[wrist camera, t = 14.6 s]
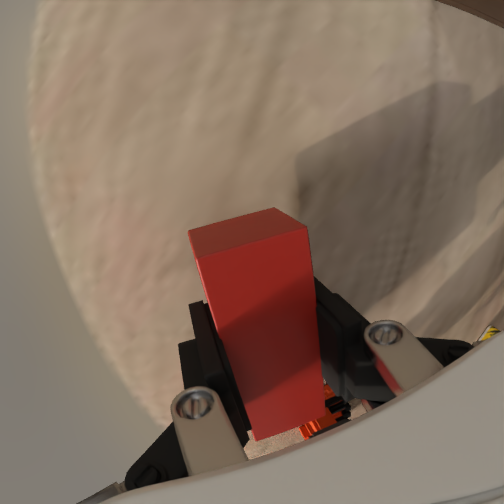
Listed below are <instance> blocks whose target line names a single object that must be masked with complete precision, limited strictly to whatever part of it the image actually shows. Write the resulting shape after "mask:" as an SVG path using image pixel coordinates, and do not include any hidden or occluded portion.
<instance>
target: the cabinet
mask: <svg viewBox="0 0 504 504" xmlns="http://www.w3.org/2000/svg"><path fill="white" fill-rule="evenodd" d="M436 1H439V2H442V3H444V4H447V5H450V6H453V7H456V8H458V9H461V10H463V11H466V12H468V13H471V14H473V15H476V16H478V17H480V18H482V19H485V20H487V21H489V22H491V23H493V24H495V25H498V26H500V27H502V28H504V0H436Z"/></svg>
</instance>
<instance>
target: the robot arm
mask: <svg viewBox="0 0 504 504" xmlns="http://www.w3.org/2000/svg"><path fill="white" fill-rule="evenodd" d="M314 285H315V294H316V303H317V307H316V316H317V326H318V336H319V347H320V358H321V371H322V377H323V378H324V379H325V381H326V382H327V384H328V385H329V387H330V388H331V389H332V391H333V392H334V394H335V395H336V396H337V397H338V396H342V397H343V399H344V400H345V401H346V402H348V401H350V400H352V399H354V398H358V399H361V402H362V404H363V406H364V408H365V409H366V411H367V413H365V414H363V415H361V416H359V417H357V418H355V419H353V420H351V421H349V422H347V423H345V424H342V425H340V426H338V427H336V428H334V429H331V430H329V431H327V432H324V433H322V434H320V435H317V436H315V437H313V438H310V439H308V440H305V441H303V442H300V443H297V444H295V445H292V446H290V447H287V448H284V449H281V450H279V451H276V452H273V453H270V454H267V455H264V456H261V457H258V458H255V459H252V460H249V459H248V457H247V455H246V453H245V451H244V449H243V448H244V446H245V445H246V443H247V442H248V441H249V440H250V439H249V436H248V434H247V431H249V430H252V426H251V423H250V420H249V417H248V415H247V412H246V409H245V406H244V403H243V400H242V398H241V395H240V392H239V389H238V386H237V383H236V380H235V377H234V374H233V371H232V368H231V365H230V362H229V360H228V357H227V354H226V351H225V348H224V345H223V342H222V339H220V338H219V336H218V333H217V330H216V326H215V323H214V320H213V317H212V314H211V311H210V308H209V305H208V303H206V304H204V303H203V300H202V301H199V302H195V303H192V304H189V309H190V315H191V320H192V324H193V329H194V334H195V339H193V340H189V341H186V342H182V343H179V344H178V347H179V355H180V362H181V369H182V376H183V383H184V389H185V390H184V391H182V392H181V393H179V394H178V395H177V396H176V397H175V398H174V400H173V401H172V404H171V415H172V419H173V422H172V423H171V424H170V425H169V426H168V428H167V429H166V430H165V431H164V432H163V433H162V434H161V435H160V436H159V437H158V439H157V440H156V441H155V442H154V443H153V444H152V445H151V446H150V447H149V448H148V449H147V450H146V452H145V453H144V454H143V455H142V456H141V457H140V458H139V459H138V460H137V461H136V462H135V463H134V464H133V465H132V466H131V468H130V469H129V470H128V472H127V474H126V477H125V481H123V482H122V483H120V484H118V483H117V482H115V483H113V484H111V485H110V486H108V487H106V488H104V489H103V490H101V491H99V492H97V493H95V494H94V495H92V496H90V497H88V498H86V499H84V500H83V501H81V502H79V503H77V504H504V330H503V331H501V332H499V333H497V334H495V335H493V336H492V337H490V338H488V339H486V340H481V341H476V342H473V344H472V345H471V344H469V343H467V342H465V341H460V340H448V339H432V338H419V337H415V336H414V335H413V334H412V333H411V332H410V331H409V330H408V329H407V328H406V327H405V326H404V325H402V324H401V323H399V322H397V321H394V320H379V321H375V322H373V323H369V322H368V321H367V320H366V319H365V318H364V317H363V316H362V315H361V314H360V313H359V312H357V311H356V310H355V309H354V308H353V307H352V306H351V305H350V304H349V303H347V302H346V301H345V300H344V299H343V298H342V297H341V296H340V295H338V294H337V293H332V292H331V291H329V290H328V289H327V288H326V287H325V286H324V285H323V284H322V283H321V282H320V281H319V280H317V279H316V278H315V277H314Z"/></svg>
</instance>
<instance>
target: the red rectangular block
mask: <svg viewBox="0 0 504 504" xmlns="http://www.w3.org/2000/svg"><path fill="white" fill-rule="evenodd" d="M188 236H189V240H190V243H191V247H192V250H193V254H194V257H195V261H196V264H197V268H198V271H199V275H200V278H201V281H202V285H203V288H204V291H205V295H206V298H207V301H208V305H209V308H210V311H211V314H212V317H213V320H214V323H215V326H216V330H217V333H218V336H219V338H220V339H222V342H223V345H224V348H225V351H226V354H227V357H228V360H229V362H230V365H231V368H232V371H233V374H234V377H235V380H236V383H237V386H238V389H239V392H240V395H241V398H242V400H243V403H244V406H245V409H246V412H247V415H248V417H249V420H250V423H251V426H252V430H251V431H252V434H253V436H254V439H255V441H259V440H262V439H265V438H268V437H271V436H274V435H276V434H279V433H282V432H285V431H287V430H290V429H293V428H295V427H298V426H301V425H303V424H306V423H308V422H311V421H313V420H316V419H318V418H320V417H323V416H325V415H326V413H325V396H324V382H323V377H322V371H321V358H320V347H319V336H318V326H317V316H316V307H317V303H316V294H315V285H314V276H313V268H312V260H311V252H310V244H309V237H308V230H307V227H306V226H305V225H303V224H301V223H300V222H298V221H296V220H295V219H293V218H292V217H290V216H288V215H287V214H285V213H283V212H282V211H280V210H278V209H276V208H274V207H273V208H270V209H266V210H262V211H258V212H254V213H250V214H247V215H243V216H239V217H235V218H232V219H228V220H224V221H221V222H217V223H213V224H210V225H206V226H203V227H199V228H196V229H192V230H189V231H188Z"/></svg>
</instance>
